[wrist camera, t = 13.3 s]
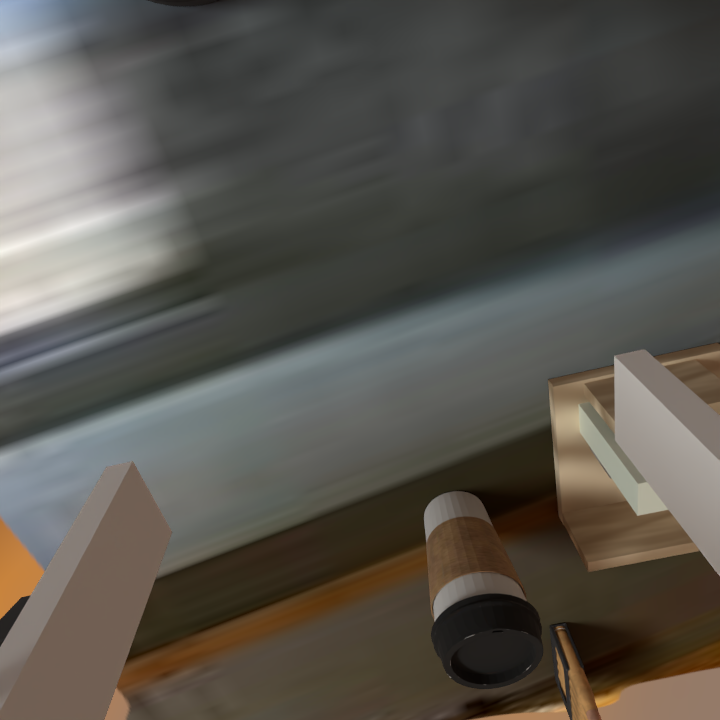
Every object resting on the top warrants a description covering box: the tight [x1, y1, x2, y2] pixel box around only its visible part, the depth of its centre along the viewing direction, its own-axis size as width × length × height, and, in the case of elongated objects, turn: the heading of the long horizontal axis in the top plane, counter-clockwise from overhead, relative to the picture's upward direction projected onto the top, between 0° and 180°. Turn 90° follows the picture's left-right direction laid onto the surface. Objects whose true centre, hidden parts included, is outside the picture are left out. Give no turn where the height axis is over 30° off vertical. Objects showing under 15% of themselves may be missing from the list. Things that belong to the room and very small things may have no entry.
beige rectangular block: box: [579, 402, 668, 516], centre depth 41 cm, size 3×10×10 cm, turn 103°
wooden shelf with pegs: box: [548, 343, 720, 572], centre depth 45 cm, size 16×14×7 cm
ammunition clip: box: [550, 623, 601, 720], centre depth 57 cm, size 11×2×12 cm, turn 13°
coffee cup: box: [424, 491, 543, 689], centre depth 45 cm, size 8×8×15 cm
